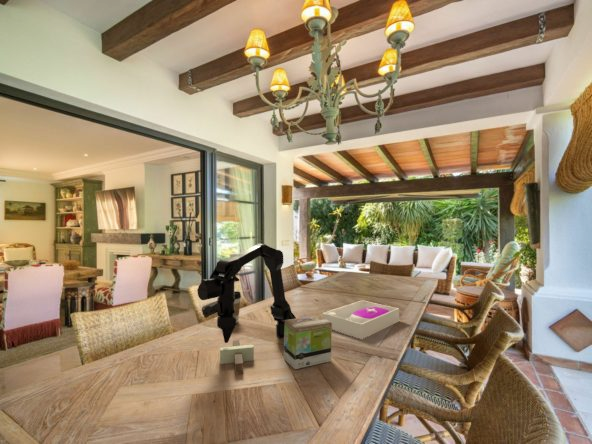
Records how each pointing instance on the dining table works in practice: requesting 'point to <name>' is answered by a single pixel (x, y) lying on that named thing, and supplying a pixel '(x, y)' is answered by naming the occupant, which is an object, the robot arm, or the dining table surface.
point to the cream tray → (362, 318)
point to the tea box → (307, 341)
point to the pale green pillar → (229, 352)
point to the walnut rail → (238, 359)
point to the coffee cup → (237, 304)
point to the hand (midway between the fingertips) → (226, 337)
